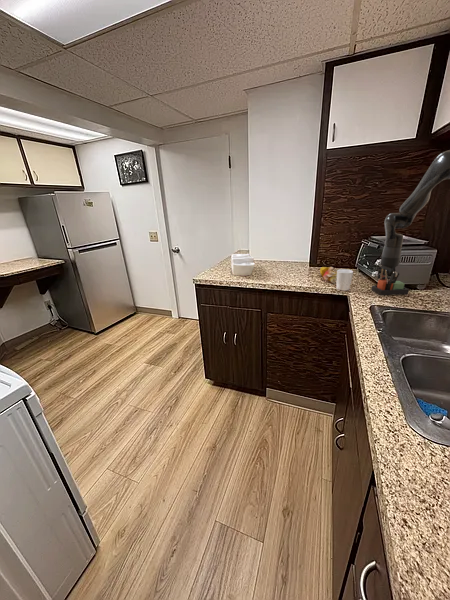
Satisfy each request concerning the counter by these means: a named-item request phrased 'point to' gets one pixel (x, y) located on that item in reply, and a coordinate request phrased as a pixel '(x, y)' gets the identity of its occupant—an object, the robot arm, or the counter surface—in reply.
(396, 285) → the green block
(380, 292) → the dark grey tray
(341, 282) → the white cup
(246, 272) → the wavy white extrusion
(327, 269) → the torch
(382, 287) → the orange block
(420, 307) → the counter surface
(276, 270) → the counter surface
